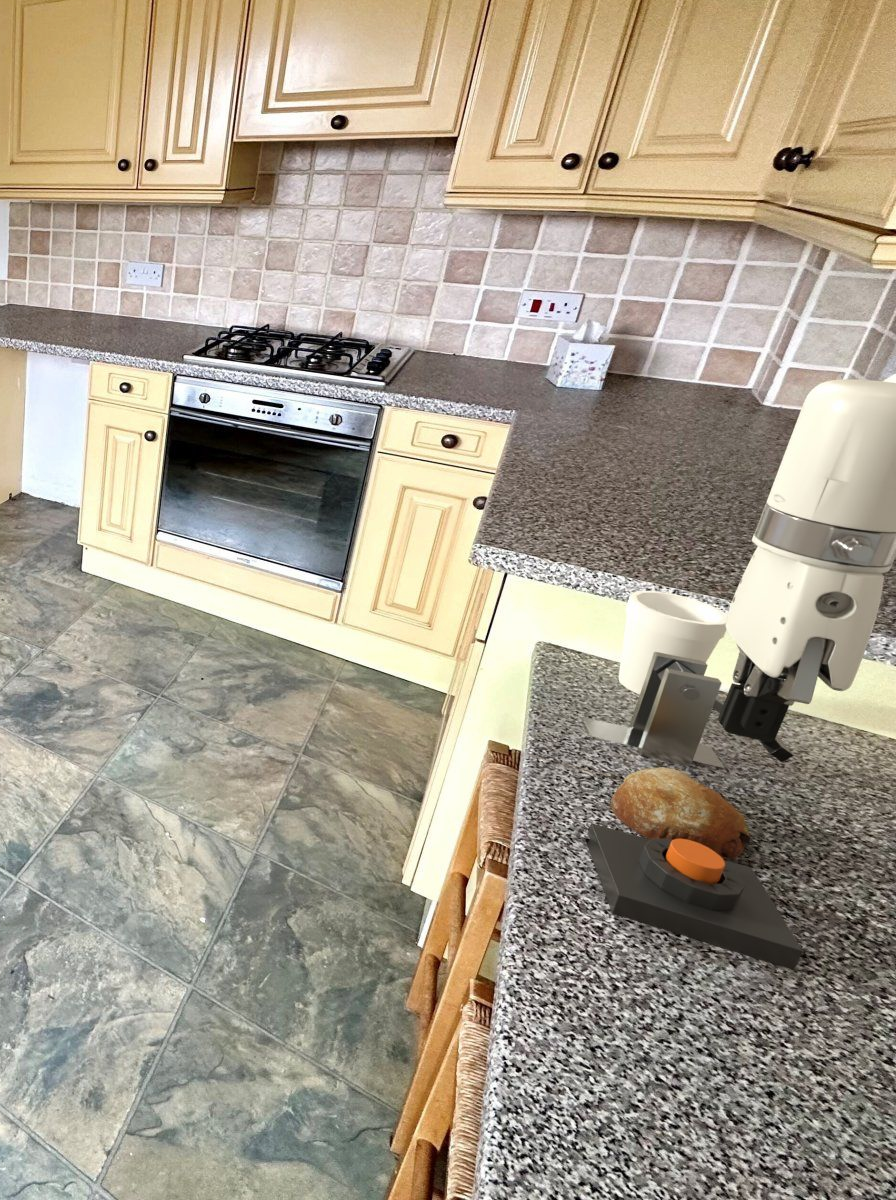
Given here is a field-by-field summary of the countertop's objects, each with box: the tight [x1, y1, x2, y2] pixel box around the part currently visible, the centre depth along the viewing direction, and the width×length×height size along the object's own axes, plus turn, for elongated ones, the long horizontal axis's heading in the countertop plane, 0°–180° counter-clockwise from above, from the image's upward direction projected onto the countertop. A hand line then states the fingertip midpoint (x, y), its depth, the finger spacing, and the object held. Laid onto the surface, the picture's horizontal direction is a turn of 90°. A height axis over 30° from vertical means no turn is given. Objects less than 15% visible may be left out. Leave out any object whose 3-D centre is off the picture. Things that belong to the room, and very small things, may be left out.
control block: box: [584, 822, 804, 971], centre depth 71 cm, size 12×10×4 cm
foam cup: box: [618, 590, 728, 695], centre depth 101 cm, size 10×9×13 cm
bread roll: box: [610, 766, 752, 860], centre depth 79 cm, size 10×10×8 cm
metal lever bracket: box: [580, 652, 726, 769], centre depth 88 cm, size 12×9×13 cm
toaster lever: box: [658, 662, 795, 763], centre depth 85 cm, size 12×5×2 cm, turn 60°
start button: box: [665, 839, 725, 884], centre depth 70 cm, size 4×4×2 cm
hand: (744, 732), depth 67 cm, fingers closed
